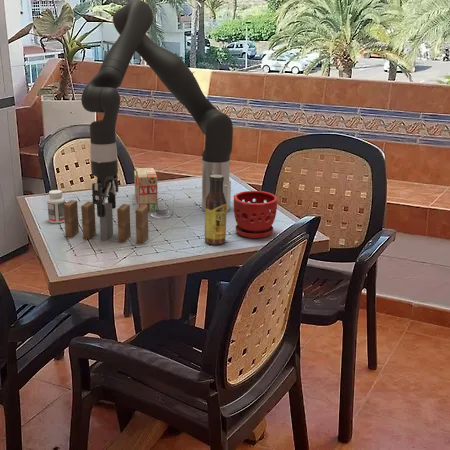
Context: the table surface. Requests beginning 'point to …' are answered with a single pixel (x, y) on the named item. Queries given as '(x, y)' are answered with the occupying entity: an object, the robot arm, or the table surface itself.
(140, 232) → the walnut domino
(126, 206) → the walnut domino
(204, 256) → the table surface
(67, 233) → the walnut domino
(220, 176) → the sauce bottle
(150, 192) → the stack of blocks
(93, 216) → the walnut domino
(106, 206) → the charcoal domino
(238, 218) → the plant pot
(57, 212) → the pill bottle
